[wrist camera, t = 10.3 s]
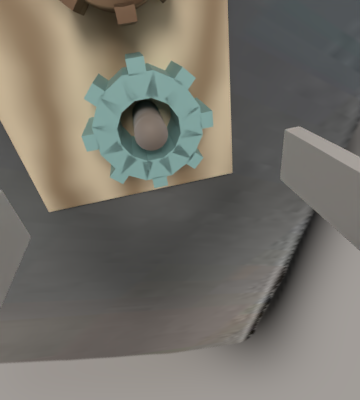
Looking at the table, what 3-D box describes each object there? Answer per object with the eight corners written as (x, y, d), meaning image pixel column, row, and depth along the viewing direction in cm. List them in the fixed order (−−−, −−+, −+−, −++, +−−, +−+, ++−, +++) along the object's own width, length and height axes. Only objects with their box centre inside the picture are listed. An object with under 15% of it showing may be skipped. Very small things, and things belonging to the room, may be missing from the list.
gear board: (52, 204, 28) (32, 252, 22) (-119, -133, 15) (-292, -251, 9) (227, 167, 30) (255, 202, 24) (214, -170, 16) (270, -295, 10)
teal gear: (71, 63, 20) (57, 71, 16) (191, 42, 21) (207, 44, 17) (107, 172, 26) (104, 199, 22) (202, 153, 27) (216, 175, 22)
